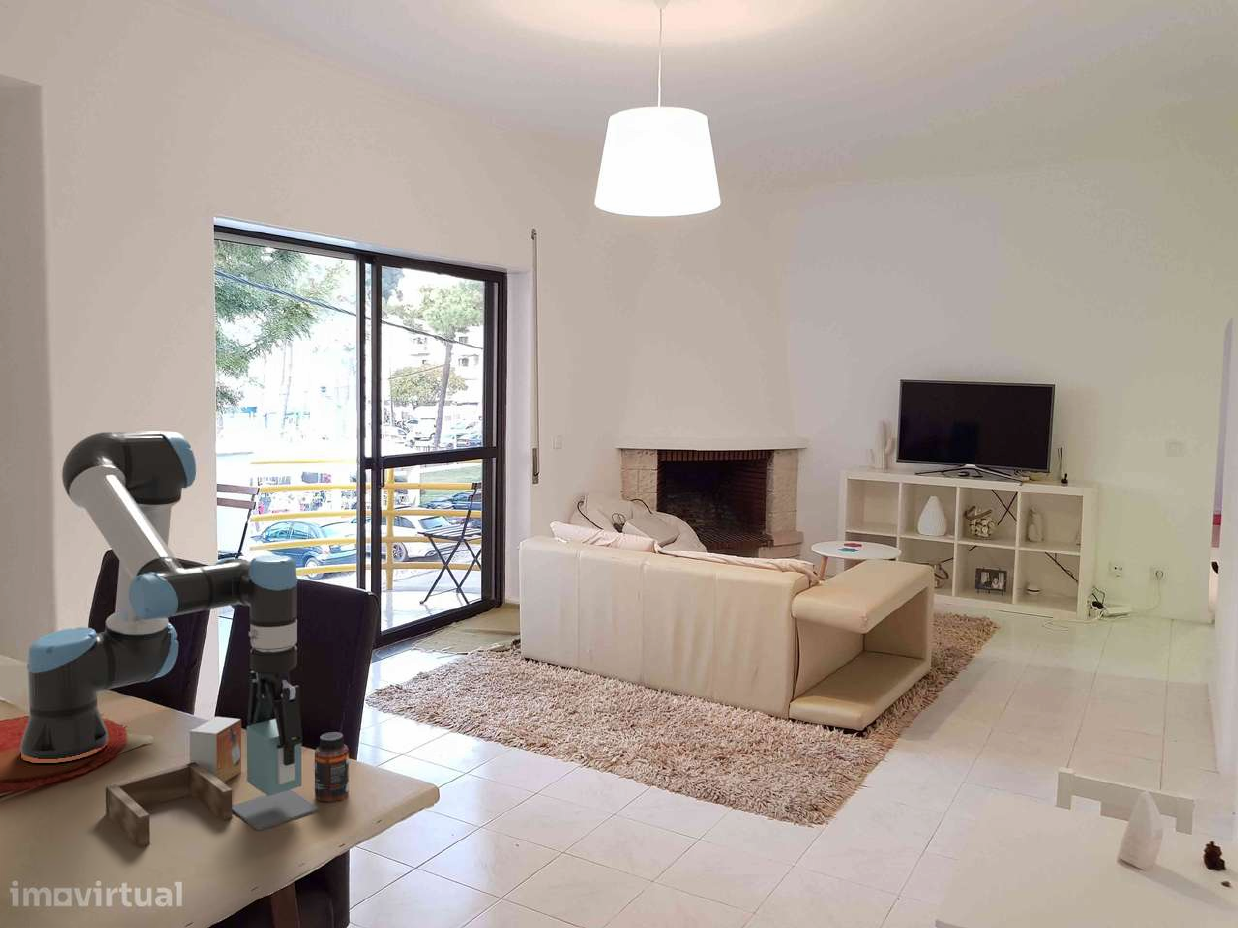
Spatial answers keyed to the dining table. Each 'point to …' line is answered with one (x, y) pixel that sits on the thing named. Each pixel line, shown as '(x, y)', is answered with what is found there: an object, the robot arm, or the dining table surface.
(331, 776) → the supplement bottle
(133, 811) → the frame
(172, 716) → the dining table surface
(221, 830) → the dining table surface
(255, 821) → the mat
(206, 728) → the small box
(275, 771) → the block
